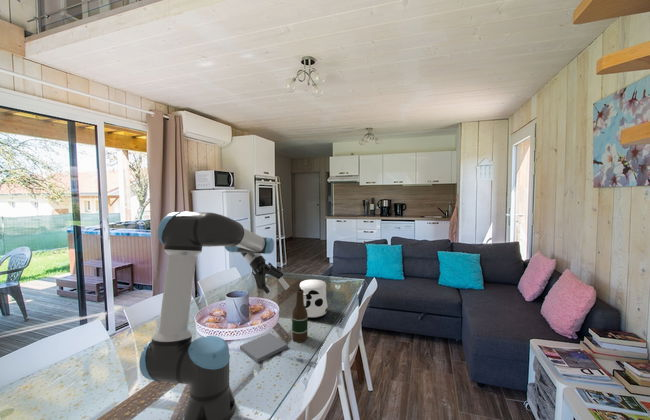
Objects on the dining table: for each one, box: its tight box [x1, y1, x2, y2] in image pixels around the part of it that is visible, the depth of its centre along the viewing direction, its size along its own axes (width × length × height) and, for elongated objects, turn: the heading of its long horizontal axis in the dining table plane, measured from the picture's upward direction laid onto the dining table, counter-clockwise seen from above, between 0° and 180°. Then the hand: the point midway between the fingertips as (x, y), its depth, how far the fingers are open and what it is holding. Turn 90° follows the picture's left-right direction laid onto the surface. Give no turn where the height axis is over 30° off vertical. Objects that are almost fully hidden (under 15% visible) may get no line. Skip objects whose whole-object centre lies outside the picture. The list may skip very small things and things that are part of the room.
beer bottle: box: [291, 288, 309, 343], centre depth 134 cm, size 8×8×24 cm
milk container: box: [298, 279, 328, 319], centre depth 161 cm, size 17×17×18 cm
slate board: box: [239, 332, 289, 363], centre depth 126 cm, size 16×14×2 cm
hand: (281, 292), depth 137 cm, fingers open, 13 cm apart
